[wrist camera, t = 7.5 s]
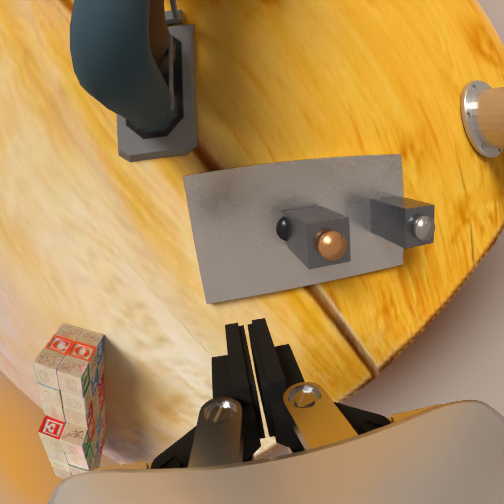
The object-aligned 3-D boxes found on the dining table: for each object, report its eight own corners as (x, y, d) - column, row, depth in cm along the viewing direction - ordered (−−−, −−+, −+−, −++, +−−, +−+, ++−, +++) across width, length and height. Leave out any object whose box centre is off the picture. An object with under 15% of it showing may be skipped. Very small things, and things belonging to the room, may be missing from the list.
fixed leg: (397, 195, 33) (440, 206, 25) (397, 227, 34) (439, 245, 26) (369, 198, 32) (411, 210, 25) (371, 232, 33) (410, 251, 26)
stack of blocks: (62, 320, 32) (21, 378, 21) (105, 333, 34) (74, 397, 22) (74, 423, 37) (55, 477, 26) (107, 433, 39) (94, 490, 27)
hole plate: (395, 154, 32) (401, 154, 31) (397, 261, 37) (403, 264, 35) (184, 176, 30) (183, 176, 29) (206, 299, 34) (206, 304, 33)
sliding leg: (320, 205, 31) (354, 219, 24) (322, 241, 32) (355, 265, 25) (284, 210, 31) (309, 226, 23) (287, 247, 32) (312, 273, 24)
